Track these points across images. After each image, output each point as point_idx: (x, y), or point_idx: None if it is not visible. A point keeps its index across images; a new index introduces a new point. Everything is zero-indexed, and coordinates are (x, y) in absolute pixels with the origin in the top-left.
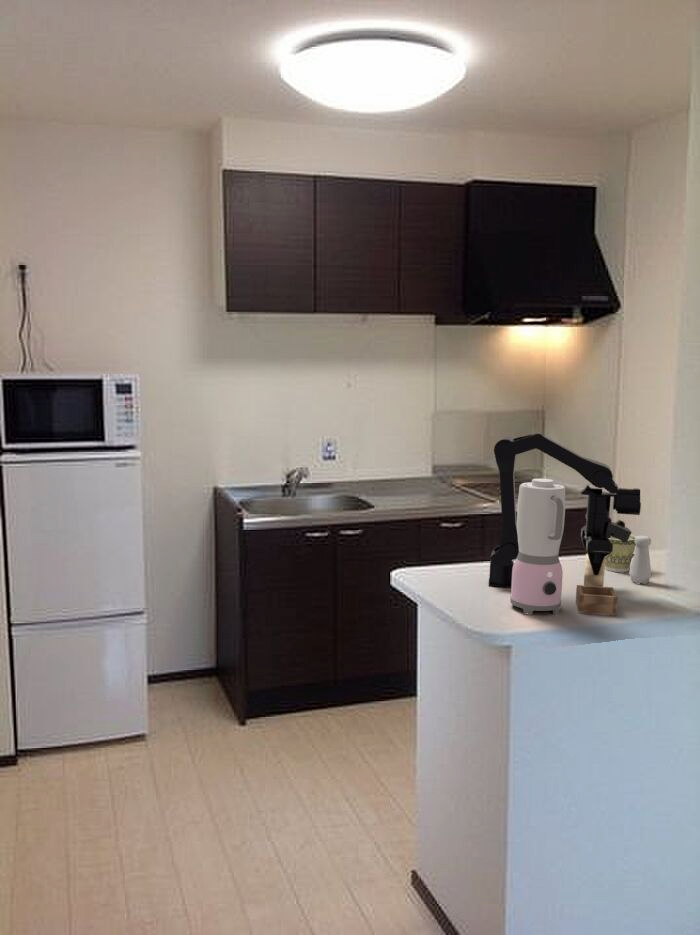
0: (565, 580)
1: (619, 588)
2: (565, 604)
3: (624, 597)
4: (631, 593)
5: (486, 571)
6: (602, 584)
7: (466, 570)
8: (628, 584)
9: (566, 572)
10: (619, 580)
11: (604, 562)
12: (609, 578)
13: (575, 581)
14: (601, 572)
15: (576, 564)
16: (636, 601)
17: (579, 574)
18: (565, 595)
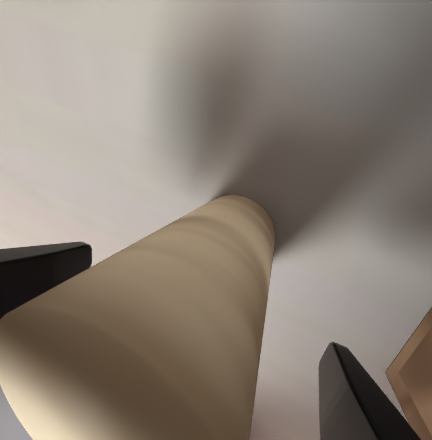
0: (97, 263)
1: (159, 82)
2: None
3: (320, 101)
4: (241, 31)
5: None
6: (257, 222)
7: None
8: (91, 10)
9: (21, 223)
10: (47, 45)
11: (208, 305)
12: (35, 87)
13: (100, 236)
14: (258, 277)
15: None
16: (425, 38)
17: (26, 190)
18: (270, 350)
